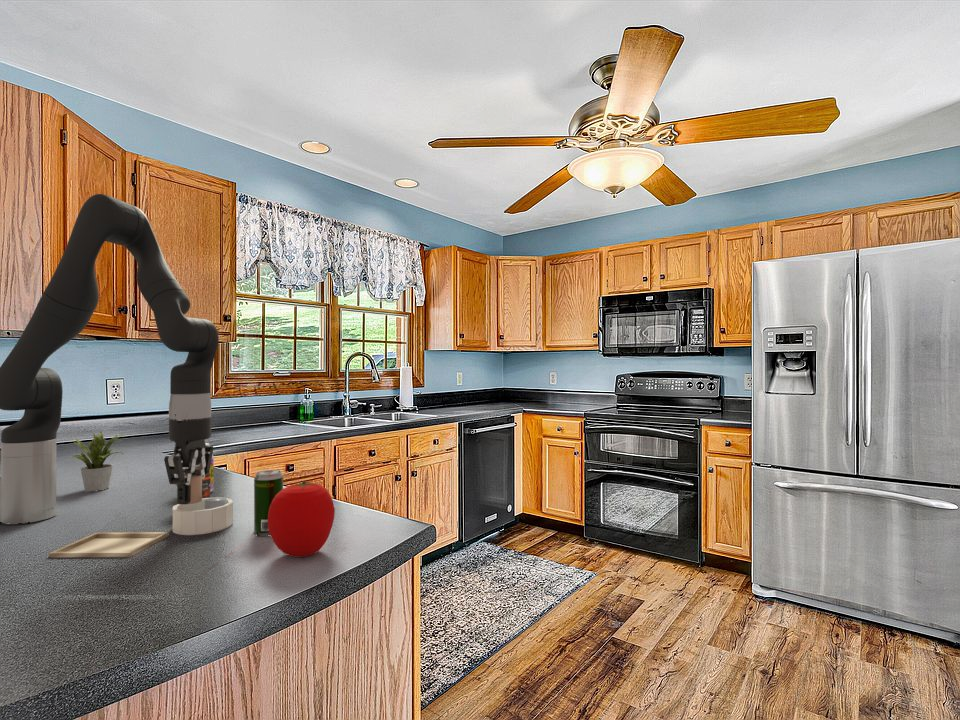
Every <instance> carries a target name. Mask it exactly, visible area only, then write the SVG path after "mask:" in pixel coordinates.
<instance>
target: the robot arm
mask: <svg viewBox="0 0 960 720" xmlns="http://www.w3.org/2000/svg"><path fill="white" fill-rule="evenodd" d="M70 233H71V234H70V237H69V239H68V241H67V245H66V247H65V249H64V251H63V254H62V256H61V258H60V261H59V262H58V265H57V267H56V268H55V271H54V273H53V275H52V277H51V278H50V280H49V282H48V283H47V286H46V287H45V288H44V290H43V293H42V294H41V297H40V299H39V300H38V302H37V304H36V307H35V308H34V311H33V313H32V315H31V317H30V319H29V321H28V323H27V324H26V327H25V328H24V330H23V332H22V333H21V335H20V336H19V339H18V340H17V342H16V344H15V345H14V346H13V348H12V350H11V351H10V352H9V354H8V355H7V357H6V358H5V359H4V361H3V363H2V364H1V365H0V410H3V411H13V412H14V411H24V413H23V416H22V417H21V418H20V419H19V420H18V421H16V422H14V423H13V424H11V425H9V426H6V427H4V428H3V429H2V431H1V433H0V441H1V442H0V522H2V523H10V524H9V525H19V524H18V523H22V524H28V522H30V523H35V522H40V521H43V520H47V519H50V518H53V517H55V516H56V515H57V437H58V436H57V435H58V434H57V432H58V429H59V427H60V425H61V420H62V405H63V383H62V380H61V377H60V375H59V373H58V372H57V371H55V370H54V369H52V368H48V367H43V365H44V364H45V362H46V361H47V359H48V358H50V357H51V356H52V355H53V354H54V353H55V352H56V351H58V350H59V349H60V348H62V347H63V346H65V345H66V344H67V343H69V342H70V341H72V340H73V339H74V338H75V337H77V336H78V335H79V334H80V333H81V332H82V331H84V329H85V328H86V327H87V325H88V324H89V322H90V319H91V318H92V316H93V315H94V314H95V310H96V309H97V307H98V304H99V300H100V292H99V291H100V290H99V285H98V280H97V276H96V267H95V266H96V262H97V258H98V255H99V253H100V251H101V249H102V247H103V245H104V243H105V242H108V243H111V244H114V245H118V246H119V245H120V246H122V247H124V248H125V249H126V250H127V251H128V252H129V253H130V254H131V255H132V257H133V258H134V259H135V261H136V264H137V269H136V271H137V272H136V284H137V287H138V290H139V292H140V293H141V295H142V296H143V298H144V299H145V301H146V303H147V305H148V306H149V307H150V310H151V311H152V312H153V316H154V322H155V325H156V329H157V332H158V336H159V339H160V341H161V343H162V344H163V345H164V346H166V347H167V348H168V349H169V350H170V351H174V352H177V353H181V352H182V353H187V357H186V360H185V362H183V363H180V364H177V365H174V366H173V367H172V368H171V370H170V380H169V382H170V383H169V384H170V386H169V387H170V389H169V390H170V391H169V393H170V396H169V397H170V398H169V403H168V440H169V441H171V442H174V443H175V445H174V449H173V454H171V455H166V456H164V458H163V459H164V460H163V461H164V466H165V470H166V475H167V477H168V483H169V484H170V485H175V486H176V487H177V488H176V489H177V491H176V494H177V495H176V496H177V498H176V499H177V504H189V503H190V501H191V485H189V484H190V481H191V475H202V496H203V479H204V478H205V475H206V474H209V472H210V466H211V460H212V454H213V455H214V446H213V445H210V446H206V444H205V443H206V440H208V439H210V438H211V437H212V400H211V381H210V380H211V371H212V368H213V365H214V362H215V358H216V354H217V351H218V347H219V341H220V337H219V332H218V329H217V326H216V325H215V324H214V323H213V322H212V321H211V320H208V319H205V318H200V317H199V318H197V317H189V316H185V315H186V314H187V313H188V312H189V310H190V309H191V301H190V299H189V297H188V296H187V293H186V292H185V290H184V289H183V287H182V286H181V285H180V283H179V282H178V280H177V279H176V277H175V276H174V273H173V272H172V270H171V269H170V267H169V265H168V263H167V261H166V259H165V256H164V254H163V252H162V249H161V247H160V245H159V242H158V240H157V238H156V235H155V233H154V230H153V228H152V225H151V223H150V221H149V219H148V217H147V216H146V214H145V213H144V212H143V210H141V209H140V208H139V207H137V206H135V205H133V204H131V203H128V202H125V201H123V200H121V199H118V198H115V197H112V196H109V195H107V194H104V193H95V194H93V195H91V196H90V197H88V199H86V200H85V202H84V203H83V205H82V206H81V208H80V210H79V213H78V215H77V217H76V219H75V223H74V224H73V228H72V231H71V232H70ZM185 467H186V468H187V469H185ZM204 467H205V469H204ZM184 473H186V476H184ZM2 523H1V524H2Z"/></svg>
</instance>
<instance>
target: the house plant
mask: <svg viewBox="0 0 960 720" xmlns="http://www.w3.org/2000/svg"><path fill="white" fill-rule="evenodd" d="M91 433H92V436H93V439H92V440H91V441H89V443H88V448H87V446H86V445H85V444H84V443H83V442H82V441H80V440H79V439H77V438H74V437H71V439H73V440H74V441H73V443H75V445H77V446H78V447H79V448H80V449H82V450H81V451H80V454H79V455H78V454H76V455H75V454H74V455H73V456H72V458H75V459H77V460H80V461H82V462H83V463H84V464H85V465H86V466H83V467H80V472H81V476H82V477H81V478H82V483H83V487H84V491H85V490H86V491H95V492H97V491H96V490H102V491H104V490H103V489H106V490H108V489H109V488H110V482H111V477H112V472H113V464H112V463H111V464H109V463H106V464H105V461H106V459H107V458H109V456H111V455H113V454H122V455H124V453H123V452H124V451H125V449H122V450H121V451H115V452H112V451H113V450H114V449H115V447H113V448H112V445H113V444H116V443H118V442H121V441H123V439H120V438H121V437H123V436H124V434H123V433H120V434H118V435H115V436H113V437H112V438H111V439H110V440H109V441H108V442H107V443H105V442H106V439H107V437H106V438H104V435H103V432H102V430H100V431H99V434H98V435H95V433H94V431H91ZM127 435H128V436H129V435H130V433H129V434H128V433H127V434H125V436H127ZM117 439H120V440H117ZM114 456H115V455H114ZM114 456H112V458H114ZM107 488H108V489H107ZM86 491H85V492H86Z"/></svg>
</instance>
